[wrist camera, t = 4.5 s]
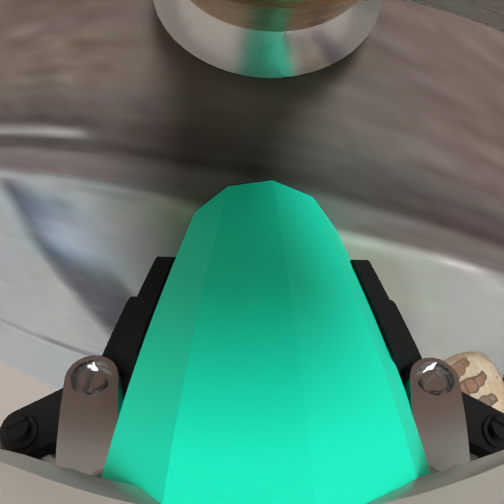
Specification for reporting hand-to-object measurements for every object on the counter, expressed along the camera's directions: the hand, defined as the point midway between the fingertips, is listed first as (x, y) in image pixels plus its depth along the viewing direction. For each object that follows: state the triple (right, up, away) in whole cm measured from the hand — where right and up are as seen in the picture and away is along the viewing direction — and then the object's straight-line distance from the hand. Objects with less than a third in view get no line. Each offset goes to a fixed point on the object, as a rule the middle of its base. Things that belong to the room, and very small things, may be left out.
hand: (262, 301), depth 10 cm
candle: (0, +2, +3) cm, 3 cm away
